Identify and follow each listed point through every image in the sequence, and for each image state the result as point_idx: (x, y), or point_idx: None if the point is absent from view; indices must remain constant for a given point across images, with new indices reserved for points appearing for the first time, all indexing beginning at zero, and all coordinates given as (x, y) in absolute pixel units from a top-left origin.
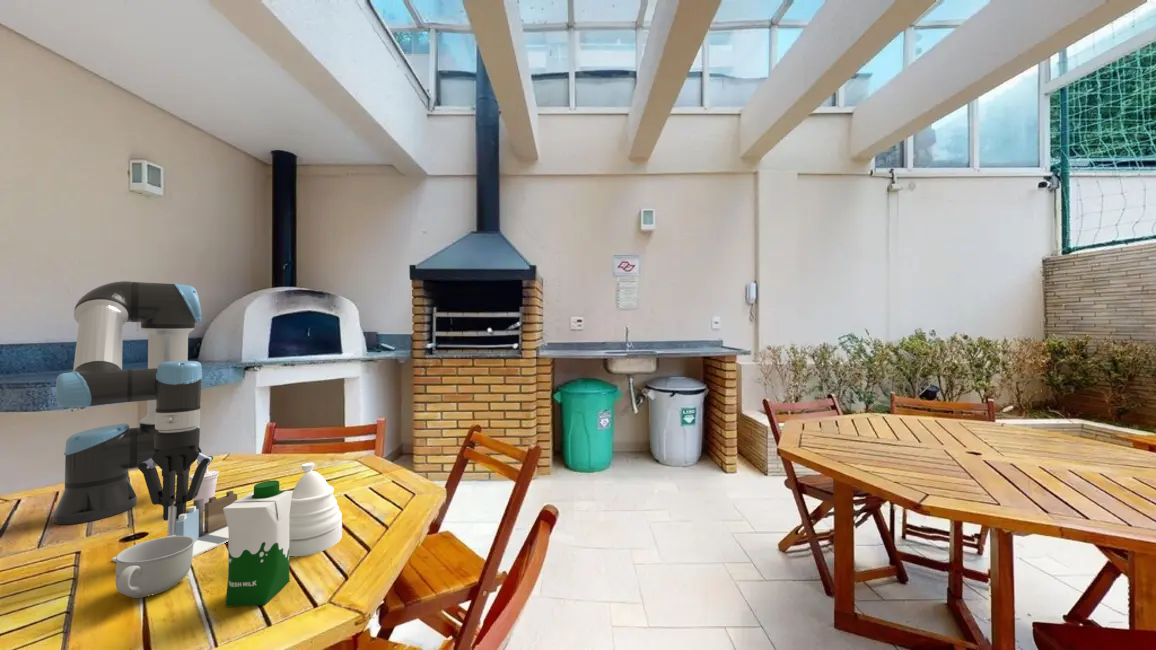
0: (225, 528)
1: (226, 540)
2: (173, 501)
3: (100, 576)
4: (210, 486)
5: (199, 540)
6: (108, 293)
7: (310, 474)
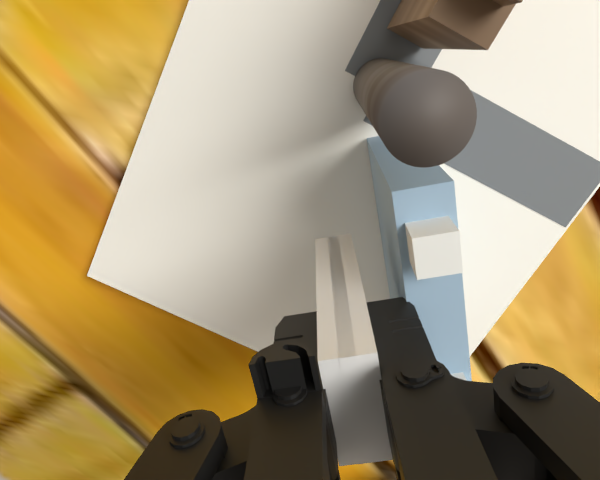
0: None
1: (593, 189)
2: (328, 412)
3: (176, 393)
4: None
5: None
6: None
7: None
